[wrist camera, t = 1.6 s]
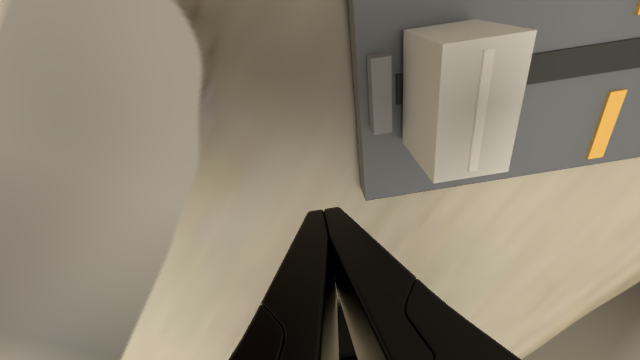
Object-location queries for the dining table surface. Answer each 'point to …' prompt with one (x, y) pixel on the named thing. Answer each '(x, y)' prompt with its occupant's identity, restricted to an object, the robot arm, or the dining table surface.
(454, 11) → the grey fader track
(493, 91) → the fader cap
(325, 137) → the dining table surface
